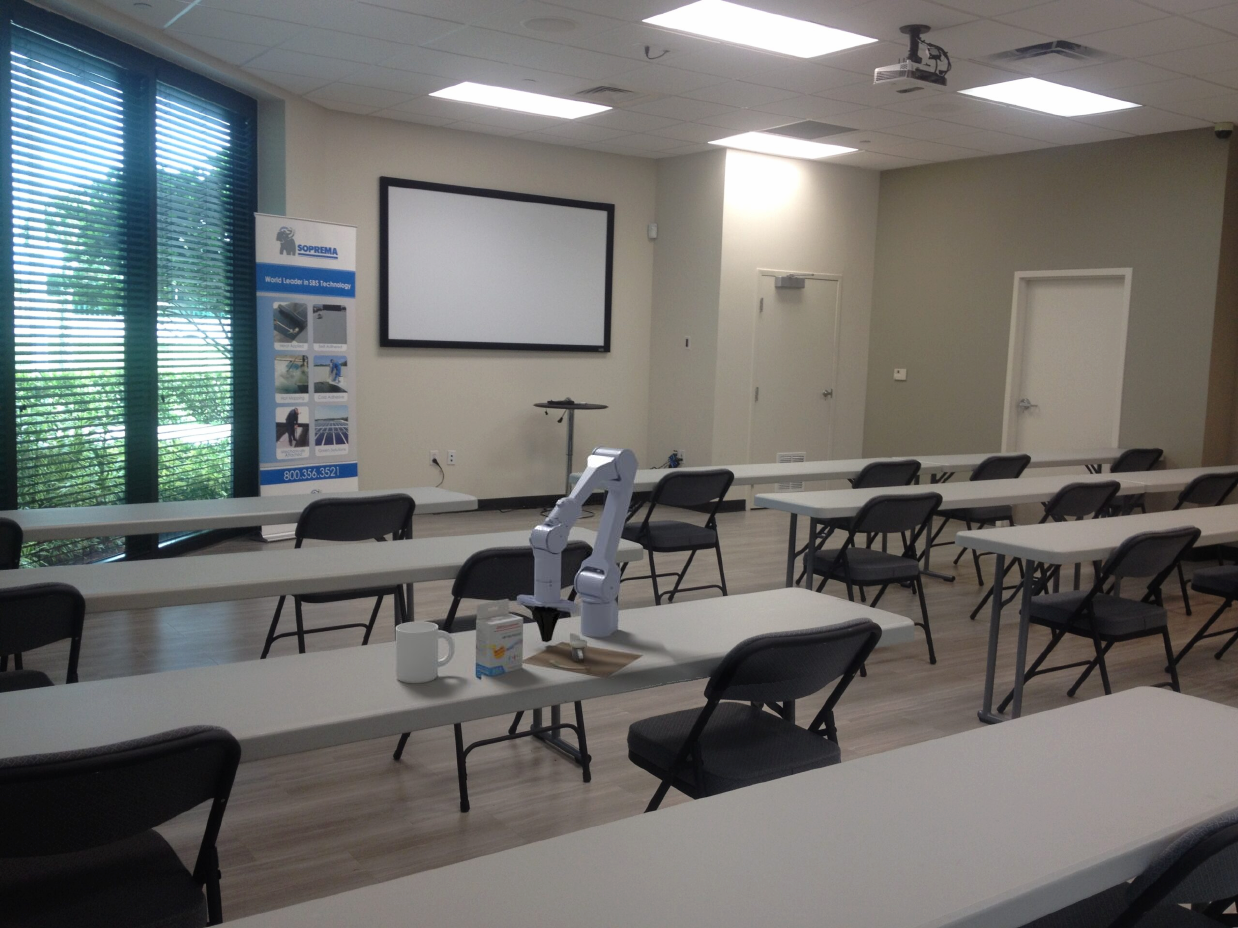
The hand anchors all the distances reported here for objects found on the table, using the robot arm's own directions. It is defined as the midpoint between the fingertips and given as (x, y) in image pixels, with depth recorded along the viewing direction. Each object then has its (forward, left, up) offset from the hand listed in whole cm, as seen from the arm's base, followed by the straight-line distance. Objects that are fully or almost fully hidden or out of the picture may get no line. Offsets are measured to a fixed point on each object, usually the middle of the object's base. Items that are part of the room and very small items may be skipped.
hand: (546, 640), depth 216 cm
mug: (+27, -11, -2) cm, 30 cm away
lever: (+5, +11, -1) cm, 12 cm away
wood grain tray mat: (+5, +12, -2) cm, 13 cm away
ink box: (+19, +1, -2) cm, 20 cm away
